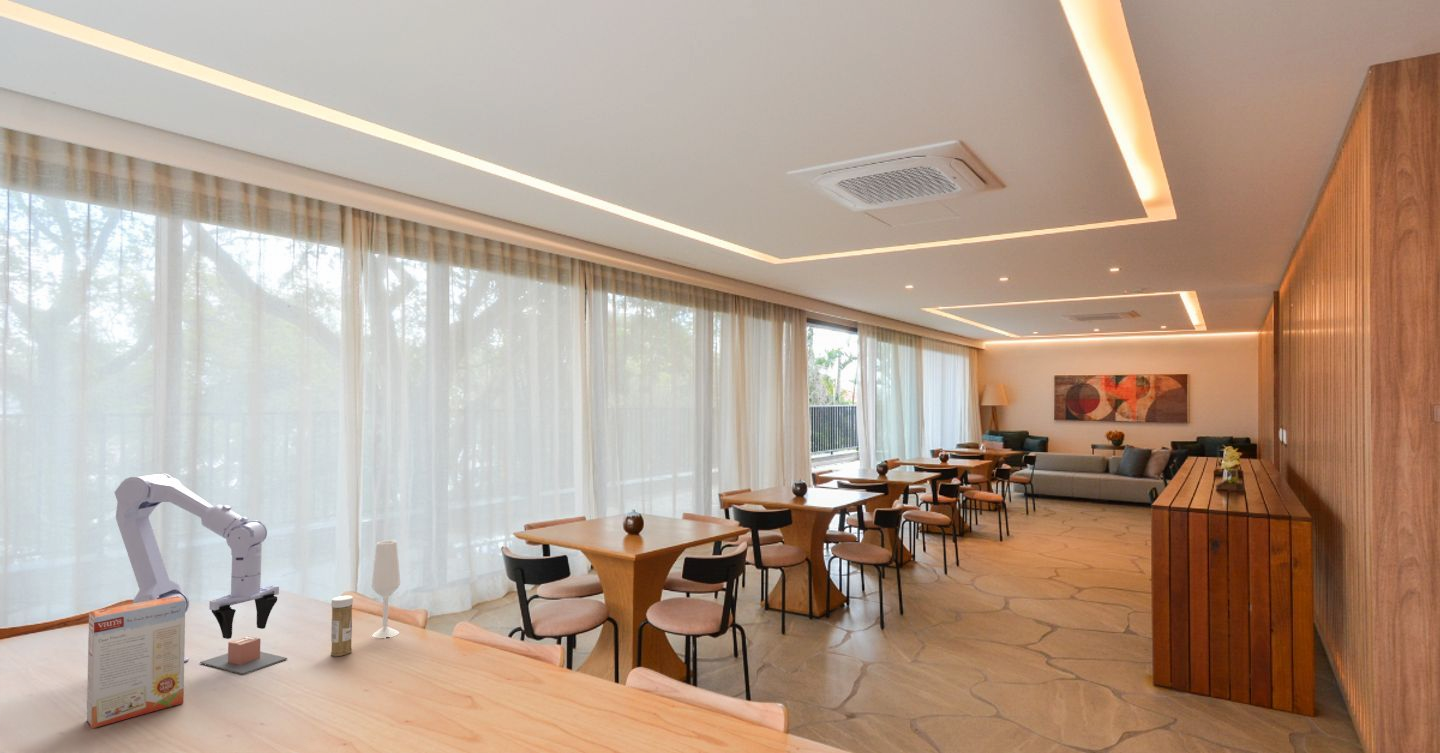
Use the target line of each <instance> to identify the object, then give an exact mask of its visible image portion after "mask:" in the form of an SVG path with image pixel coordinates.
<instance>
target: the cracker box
mask: <svg viewBox="0 0 1440 753" xmlns="http://www.w3.org/2000/svg"><path fill="white" fill-rule="evenodd" d="M185 634H186V613H185V600H184V599H182V598H181V597H179V596H173V597H168V598H162V599H157V600H151V601H145V602H140V603H134V604H133V603H129V604H124V605H119V606H113V607H108V608H102V609H97V610H92V611H89V613H88V639H87V640H88V642H87V643H88V644H87V645H88V646H87V689H86V690H87V691H86V692H87V695H86V721H87V722H88V724H89V725H90V727H91V729H95V728H99V727H103V726H107V725H109V724H113V723H117V722H120V721H123V720H124V721H125V720H126V719H130V718H134V717H138V716H142V715H145V714H148V713H152V712H155V711H160V710H162V709H163V710H164V709H166V708H171V707H174V706H177V705H181V704H183V703H184V700H185V698H184V696H185V695H184V693H185V662H184V657H185V642H186V641H185V640H186V638H185V637H186V636H185Z"/></svg>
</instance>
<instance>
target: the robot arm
mask: <svg viewBox="0 0 1440 753" xmlns="http://www.w3.org/2000/svg"><path fill="white" fill-rule="evenodd" d="M114 496H115V498H116V501H117V503H116V504H117V505H116V511H115V520H116V523H117V527H118V530H119V532H120V535H121V539H122V540H123V545H124V547H125V550H126V553H127V557H128V559H129V562H130V566H131V568H132V572H133V574H134V578H135V580H136V583H137V585H138V586H137V587H138V589H139V590H138V592H137V594H136V595H135V596H134V598H133V600H132V604H134V603H140V602H145V601H151V600H157V599H162V598H168V597H173V596H179V597H181V598H182V599H184V600H185V614H186V613H187V612H188V610H189V608H190V599H189V597H188V596H187V594H185V593H184V592H183V590H182V589H181V587H180V584H178V582H175V581H172V580H171V579H170V578H169V574H168V571H167V568H166V566H165V563H164V559H163V557H162V554H161V550H160V548H159V545H158V542H157V539H156V536H155V532H154V529H153V527H152V524H151V521H150V516H151V514H152V512H153V511H154V510H155V508H156V507H158V506H159V505H160V504H161V503H171V504H173V505H175V506H176V507H178V508H180V509H182V510H185V511H187V512H189V513H190V514H192V515H195V516H197V517H198V518H200V520H201V525H202V526H203V527H204V528H207V529H208V530H210V531H212V532H213V533H215V534H216V535H218V536H220V537H222V538H224V539H225V541H226V543H227V546H228V547H229V548H230V551H231V552H230V553H231V574H230V575H231V577H230V593H229V594H227V595H224V596H221V597H218V598H215V599H212V600H211V599H210V600H209V606H208V608H209V610H211V613H212V614H213V616H214V618H215V619H216V621H217V623H218V625H219V628H220V631H221V636H222V639H226V640H229V639H232V637H233V623H234V617H235V613H236V611H237V610H236V609H234V608H232V606H234V605H237V604H238V605H239V604H242V603H246V602H250V601H254V605H255V609H256V610H255V611H256V628H257V629H261V630H263V629H266V626H267V623H268V619H269V618H270V617H269V616H270V614H271V611H272V610H273V608H274V607H275V604H276V603H277V602H278V596H277V595H279V594H280V586H279V585H271V586H270V585H269V586H265V587H261V583H262V582H261V580H262V578H261V576H262V548H263V547H262V543H264V541H265V540H266V538H267V536H268V529H267V527H266V526H265V524H264V523H262V522H261V521H260V520H257V519H256V520H249V517H247V516H242V515H240V514H238V513H237V512H236V511H234V510H232V507H231V506H230V505H229V504H226V505H224V504H217V505H212V504H211V503H209V502H208V501H207V500H205V499H203V498H202V497H201V496H199V495H197V494H196V493H195V492H193V491H192V490H190V489H188V488H187V487H185V485H183V484H182V483H181V481H180V480H179V479H177V478H175V477H173V476H171V475H170V474H168V473H164V472H158V473H154V474H149V475H141V476H130V477H128V478H125V479H124V480H123V481H122V482H120V484H119V486H117V488H116V489H115V491H114ZM189 660H190V658H189V657H185V656H184V663H185V662H188V661H189Z"/></svg>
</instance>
